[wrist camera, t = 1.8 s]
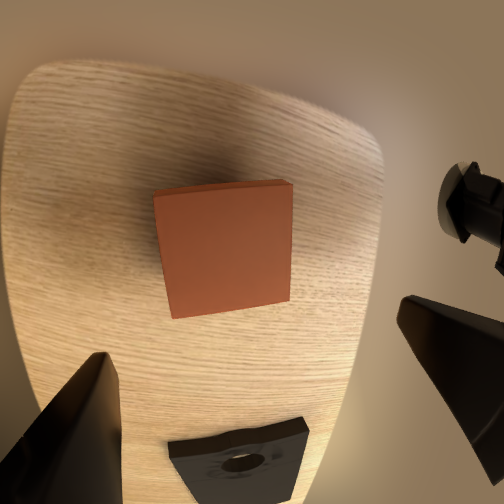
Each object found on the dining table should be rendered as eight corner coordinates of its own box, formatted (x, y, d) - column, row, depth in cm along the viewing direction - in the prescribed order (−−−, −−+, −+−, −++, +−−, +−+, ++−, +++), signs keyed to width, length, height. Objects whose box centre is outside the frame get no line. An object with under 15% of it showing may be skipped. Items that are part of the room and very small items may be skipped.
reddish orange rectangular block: (265, 171, 16) (293, 183, 13) (267, 268, 19) (289, 301, 15) (157, 181, 15) (152, 196, 11) (170, 281, 17) (172, 319, 14)
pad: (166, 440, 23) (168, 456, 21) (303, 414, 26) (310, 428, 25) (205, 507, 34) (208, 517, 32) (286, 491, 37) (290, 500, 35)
